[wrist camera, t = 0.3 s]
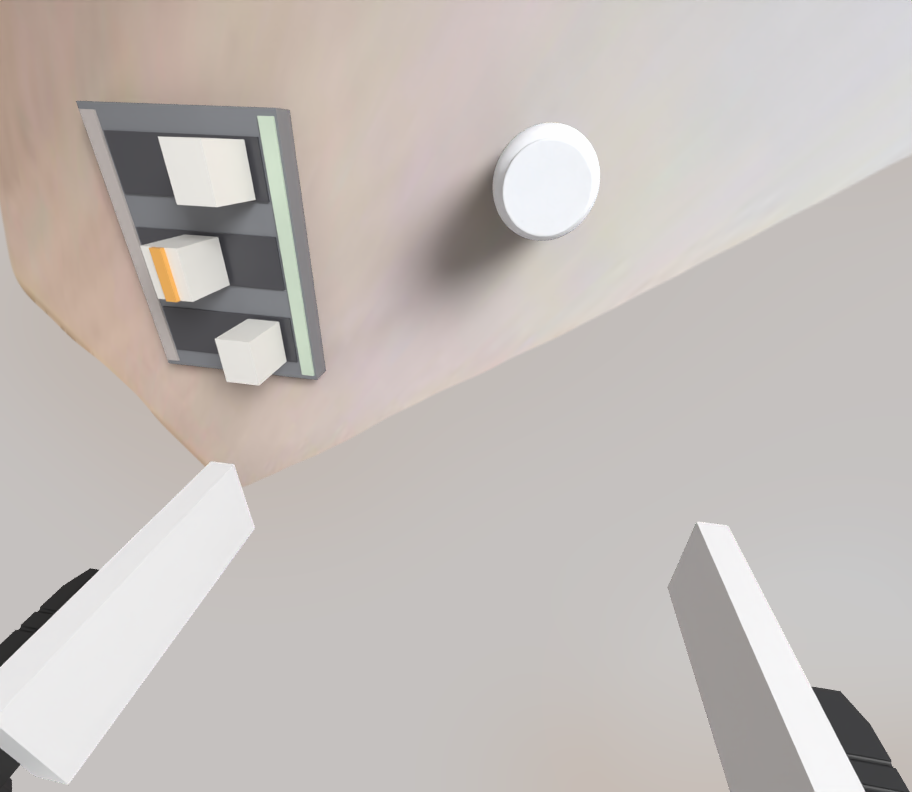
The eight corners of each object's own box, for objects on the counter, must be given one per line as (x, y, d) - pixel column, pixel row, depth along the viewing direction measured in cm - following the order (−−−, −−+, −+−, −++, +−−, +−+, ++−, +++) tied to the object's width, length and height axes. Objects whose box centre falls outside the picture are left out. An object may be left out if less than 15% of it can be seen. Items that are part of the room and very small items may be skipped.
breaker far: (247, 318, 38) (214, 338, 34) (278, 321, 38) (249, 342, 34) (257, 358, 40) (226, 381, 36) (286, 361, 40) (259, 385, 36)
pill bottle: (512, 232, 33) (503, 266, 24) (490, 146, 31) (471, 147, 21) (592, 206, 32) (617, 232, 22) (576, 113, 29) (598, 97, 19)
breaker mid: (184, 234, 35) (135, 246, 31) (218, 236, 35) (173, 249, 30) (198, 282, 37) (154, 300, 33) (229, 285, 37) (189, 303, 32)
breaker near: (206, 137, 31) (157, 136, 27) (244, 139, 30) (200, 138, 26) (220, 197, 33) (176, 204, 29) (255, 199, 33) (216, 207, 29)
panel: (99, 103, 33) (73, 100, 31) (289, 109, 31) (274, 107, 30) (182, 354, 45) (167, 363, 43) (325, 370, 43) (316, 380, 41)
